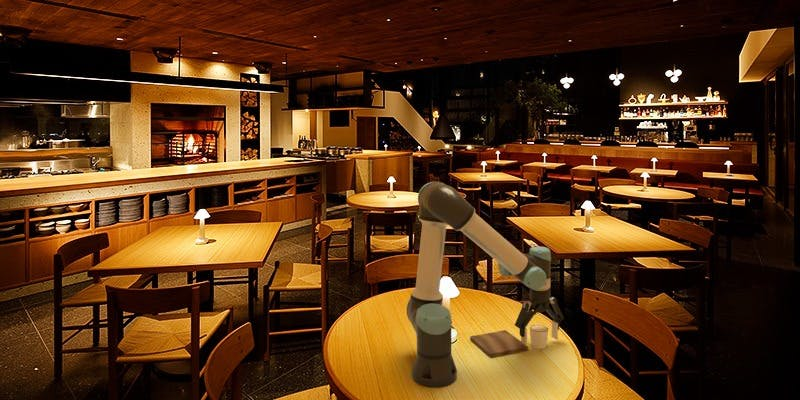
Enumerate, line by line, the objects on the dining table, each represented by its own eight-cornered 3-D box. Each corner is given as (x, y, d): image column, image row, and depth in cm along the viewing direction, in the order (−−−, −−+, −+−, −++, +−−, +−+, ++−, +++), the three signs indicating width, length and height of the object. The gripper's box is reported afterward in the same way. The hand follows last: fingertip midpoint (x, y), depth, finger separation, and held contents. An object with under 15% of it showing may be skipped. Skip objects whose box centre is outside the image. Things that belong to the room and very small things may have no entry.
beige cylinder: (549, 350, 175) (549, 332, 174) (530, 348, 176) (530, 331, 175) (547, 342, 182) (547, 325, 181) (528, 341, 183) (529, 324, 182)
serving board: (490, 357, 170) (490, 354, 170) (470, 340, 185) (470, 336, 185) (528, 350, 175) (528, 346, 175) (505, 333, 190) (505, 330, 190)
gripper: (516, 295, 168) (516, 351, 171) (574, 286, 176) (573, 339, 179) (505, 289, 175) (505, 342, 178) (561, 280, 183) (560, 331, 186)
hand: (539, 341), depth 179 cm, fingers open, 13 cm apart
